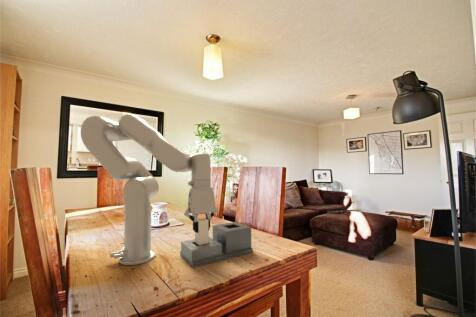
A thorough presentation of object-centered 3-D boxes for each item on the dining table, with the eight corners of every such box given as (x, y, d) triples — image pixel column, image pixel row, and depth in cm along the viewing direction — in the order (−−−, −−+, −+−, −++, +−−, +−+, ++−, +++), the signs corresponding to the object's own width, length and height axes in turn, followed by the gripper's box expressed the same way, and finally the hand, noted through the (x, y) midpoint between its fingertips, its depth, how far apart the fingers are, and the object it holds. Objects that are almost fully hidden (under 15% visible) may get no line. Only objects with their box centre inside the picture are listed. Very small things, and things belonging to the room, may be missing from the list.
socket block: (192, 267, 76) (192, 238, 77) (180, 254, 88) (180, 229, 89) (252, 252, 90) (252, 227, 91) (235, 243, 102) (234, 221, 103)
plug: (199, 245, 83) (198, 219, 84) (194, 242, 87) (194, 217, 88) (208, 243, 85) (208, 218, 86) (203, 240, 89) (203, 216, 90)
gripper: (183, 185, 80) (184, 237, 79) (224, 183, 89) (224, 229, 88) (177, 185, 86) (177, 232, 85) (215, 183, 95) (216, 225, 94)
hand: (201, 230), depth 86 cm, fingers closed on plug, 4 cm apart
